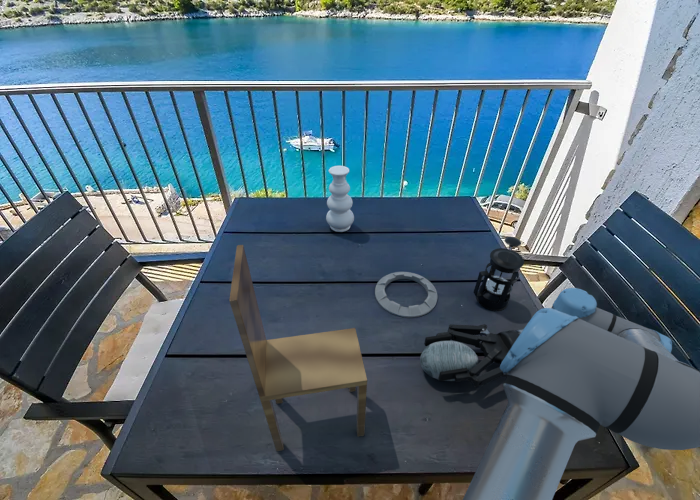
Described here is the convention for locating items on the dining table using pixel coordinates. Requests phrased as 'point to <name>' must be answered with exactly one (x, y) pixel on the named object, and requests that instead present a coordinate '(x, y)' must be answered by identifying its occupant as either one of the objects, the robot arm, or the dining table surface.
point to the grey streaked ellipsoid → (447, 358)
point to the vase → (339, 201)
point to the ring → (396, 308)
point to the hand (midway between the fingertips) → (432, 358)
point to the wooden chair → (294, 356)
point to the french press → (497, 285)
